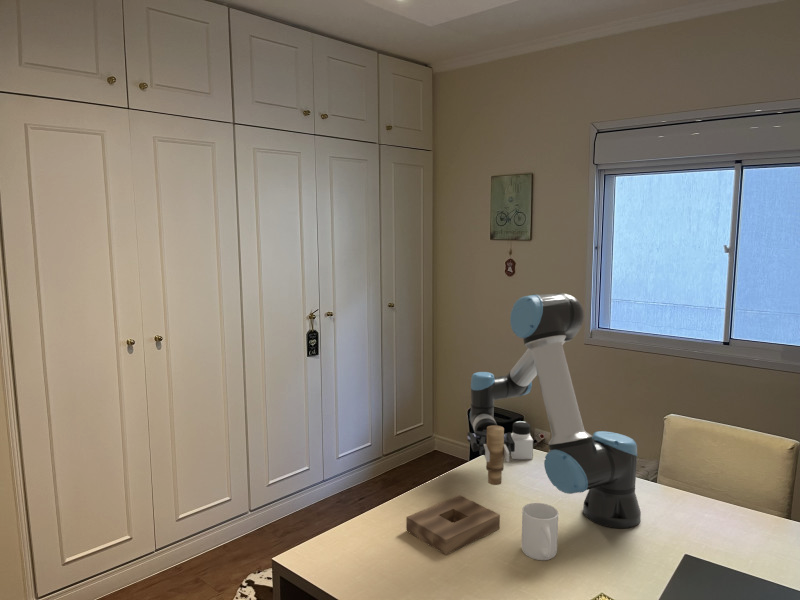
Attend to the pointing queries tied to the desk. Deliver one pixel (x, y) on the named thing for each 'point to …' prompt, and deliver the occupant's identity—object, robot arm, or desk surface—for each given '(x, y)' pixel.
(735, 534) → the desk surface
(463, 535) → the seat board
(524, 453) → the medicine bottle
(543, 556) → the mug
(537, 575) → the desk surface
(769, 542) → the desk surface
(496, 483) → the oak leg
